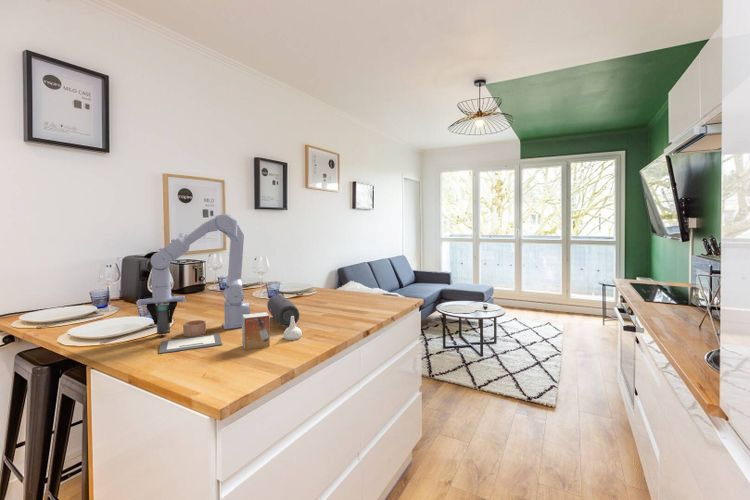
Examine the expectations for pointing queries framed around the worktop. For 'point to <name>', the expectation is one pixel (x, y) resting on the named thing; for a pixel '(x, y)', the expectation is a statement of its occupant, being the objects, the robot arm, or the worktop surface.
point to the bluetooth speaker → (282, 310)
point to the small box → (255, 330)
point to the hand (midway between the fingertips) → (163, 323)
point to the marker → (162, 319)
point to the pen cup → (194, 328)
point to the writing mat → (190, 343)
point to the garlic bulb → (292, 331)
